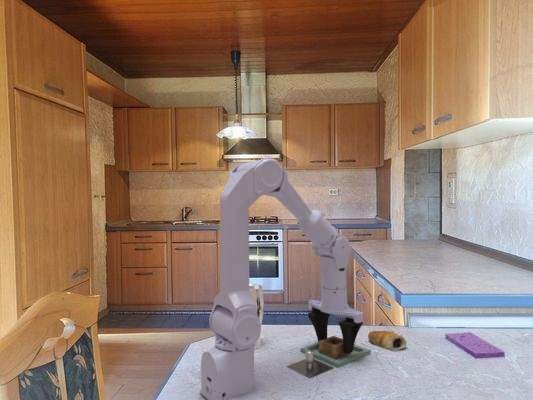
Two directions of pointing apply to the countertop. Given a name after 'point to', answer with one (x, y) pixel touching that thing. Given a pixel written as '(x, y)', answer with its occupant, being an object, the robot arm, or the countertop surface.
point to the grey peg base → (310, 366)
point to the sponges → (474, 345)
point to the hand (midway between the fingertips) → (335, 347)
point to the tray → (361, 353)
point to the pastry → (387, 340)
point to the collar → (332, 347)
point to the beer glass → (258, 305)
